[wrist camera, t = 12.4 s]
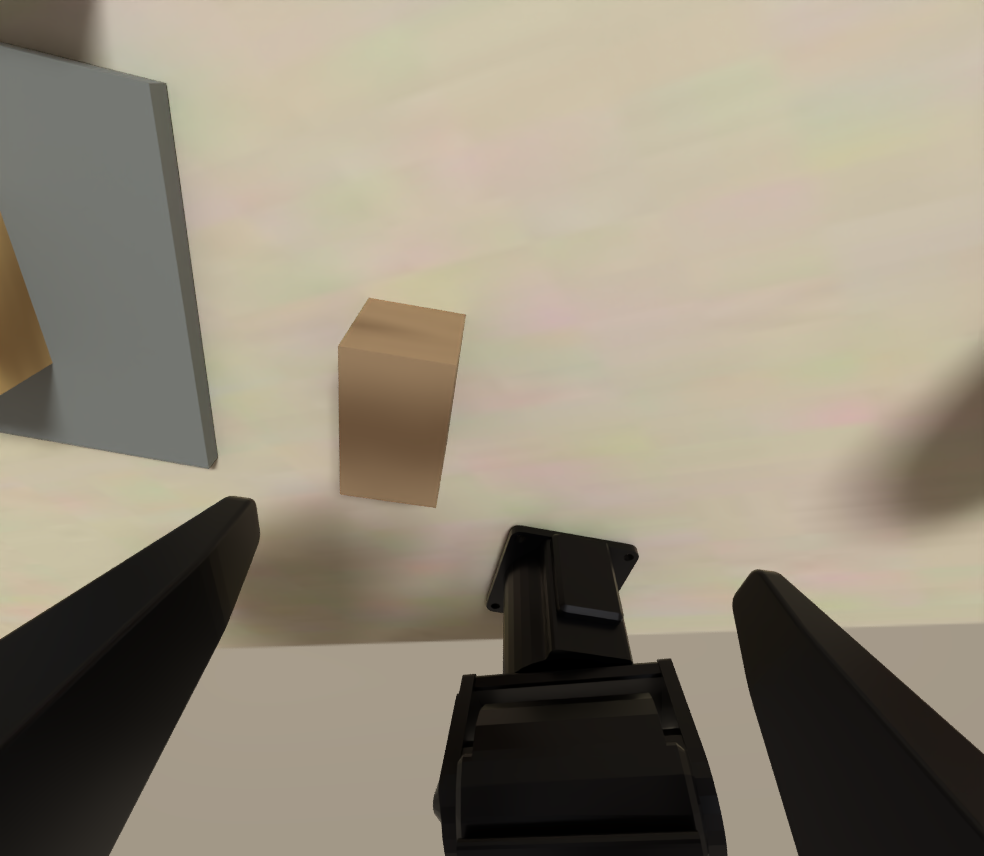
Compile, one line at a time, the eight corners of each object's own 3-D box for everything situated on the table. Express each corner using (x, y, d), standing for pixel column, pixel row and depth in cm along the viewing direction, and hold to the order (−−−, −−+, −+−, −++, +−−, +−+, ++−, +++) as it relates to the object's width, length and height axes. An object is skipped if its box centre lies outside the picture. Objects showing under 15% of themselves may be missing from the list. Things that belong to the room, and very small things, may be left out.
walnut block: (446, 442, 21) (435, 507, 18) (366, 430, 21) (339, 494, 18) (465, 313, 18) (456, 365, 15) (369, 296, 18) (338, 345, 14)
